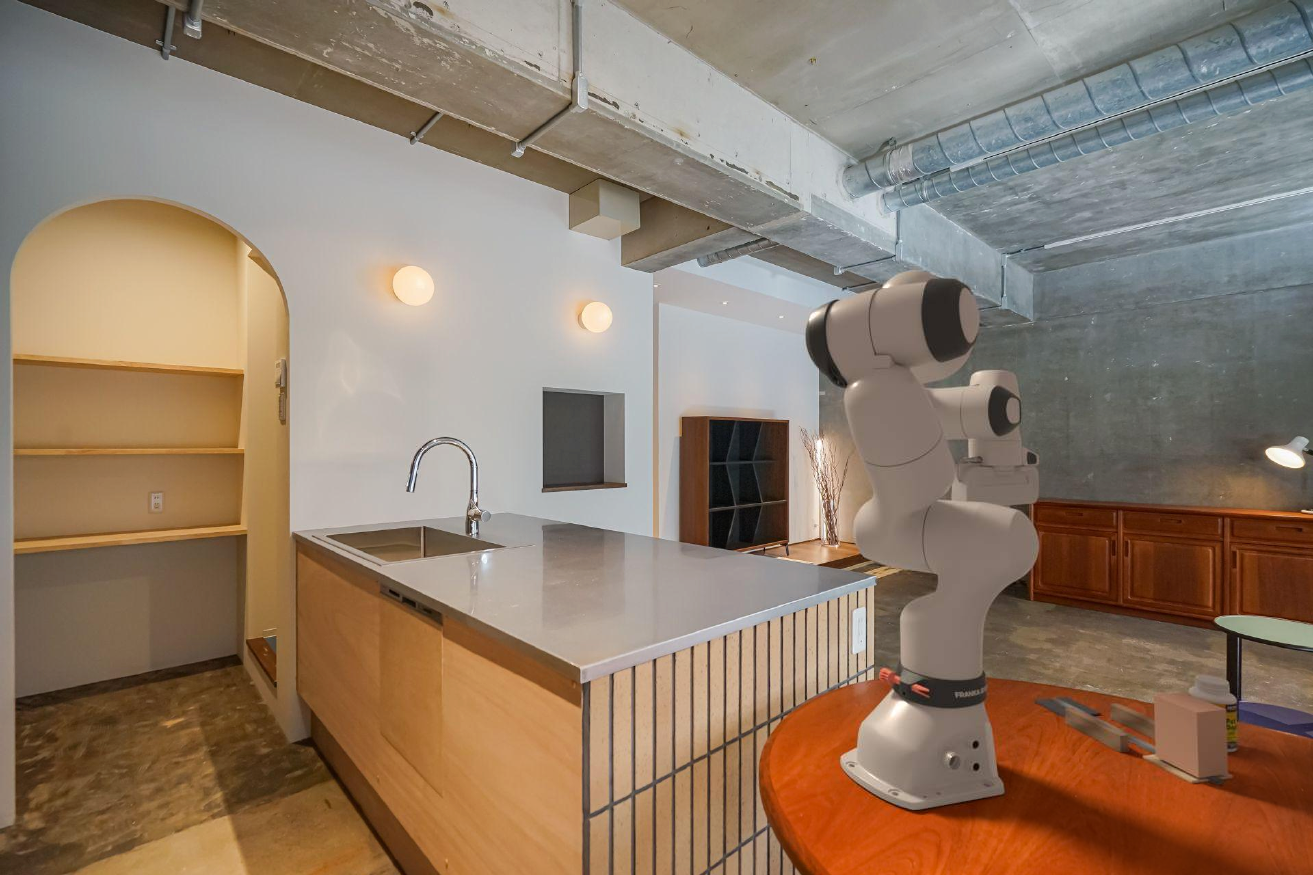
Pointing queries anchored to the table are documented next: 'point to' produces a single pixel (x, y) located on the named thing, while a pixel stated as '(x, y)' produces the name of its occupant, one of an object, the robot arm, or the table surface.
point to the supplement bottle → (1219, 702)
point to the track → (1113, 734)
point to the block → (1191, 734)
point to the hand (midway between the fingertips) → (996, 529)
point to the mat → (1180, 770)
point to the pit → (1061, 710)
